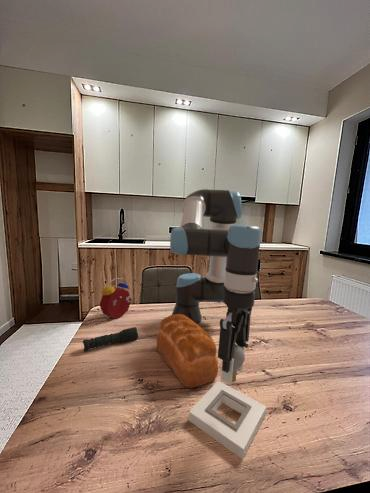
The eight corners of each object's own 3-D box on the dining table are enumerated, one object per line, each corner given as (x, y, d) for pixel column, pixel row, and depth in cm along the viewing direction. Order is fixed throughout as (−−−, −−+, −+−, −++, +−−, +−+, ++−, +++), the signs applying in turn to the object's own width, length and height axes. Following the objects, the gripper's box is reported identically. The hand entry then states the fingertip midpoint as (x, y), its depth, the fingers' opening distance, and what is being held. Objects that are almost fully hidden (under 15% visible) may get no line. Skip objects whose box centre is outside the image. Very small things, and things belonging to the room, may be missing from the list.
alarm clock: (123, 309, 125) (123, 273, 122) (134, 314, 120) (135, 277, 117) (99, 319, 113) (99, 279, 110) (110, 325, 108) (110, 283, 105)
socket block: (188, 420, 61) (189, 410, 60) (217, 388, 72) (218, 379, 72) (242, 459, 52) (243, 447, 51) (265, 415, 63) (266, 405, 63)
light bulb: (218, 374, 63) (221, 339, 61) (238, 374, 63) (241, 339, 62) (223, 389, 57) (226, 351, 56) (245, 389, 58) (248, 351, 56)
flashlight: (138, 341, 97) (138, 330, 96) (84, 355, 85) (84, 342, 85) (134, 335, 101) (134, 324, 100) (82, 348, 90) (82, 336, 89)
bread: (185, 393, 70) (188, 345, 67) (152, 347, 92) (154, 310, 90) (222, 379, 77) (225, 335, 74) (183, 339, 99) (185, 305, 97)
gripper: (237, 302, 47) (228, 404, 51) (267, 284, 62) (258, 364, 65) (206, 293, 52) (199, 387, 55) (240, 278, 66) (234, 353, 70)
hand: (231, 375), depth 60 cm, fingers closed on light bulb, 5 cm apart
